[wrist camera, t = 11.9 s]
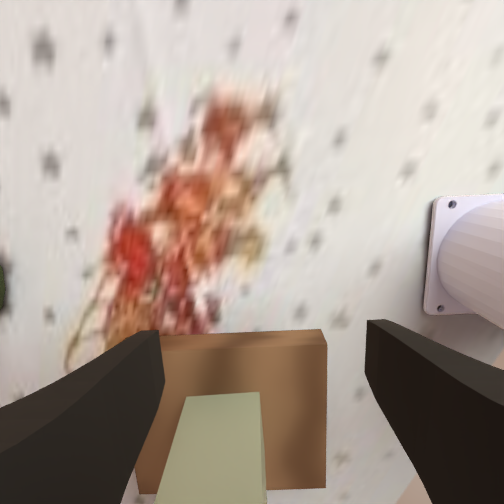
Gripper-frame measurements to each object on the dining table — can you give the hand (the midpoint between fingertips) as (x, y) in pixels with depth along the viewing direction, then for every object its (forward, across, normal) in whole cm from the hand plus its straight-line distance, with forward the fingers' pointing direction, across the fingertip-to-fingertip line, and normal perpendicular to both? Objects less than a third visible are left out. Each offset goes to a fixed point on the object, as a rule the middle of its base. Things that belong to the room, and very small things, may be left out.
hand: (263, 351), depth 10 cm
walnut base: (+10, +3, +11) cm, 15 cm away
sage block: (+8, +3, +11) cm, 14 cm away
